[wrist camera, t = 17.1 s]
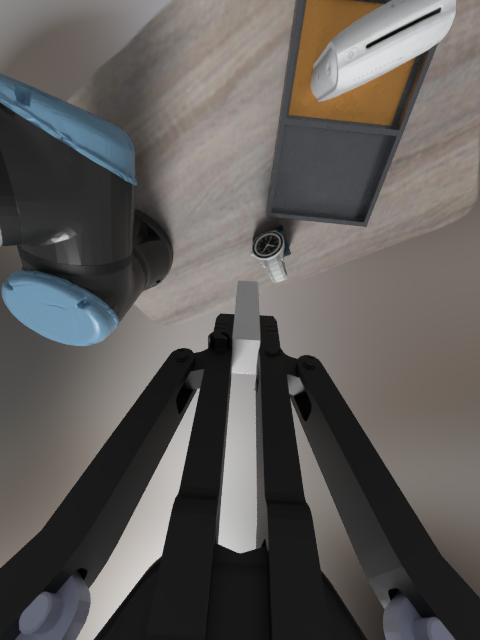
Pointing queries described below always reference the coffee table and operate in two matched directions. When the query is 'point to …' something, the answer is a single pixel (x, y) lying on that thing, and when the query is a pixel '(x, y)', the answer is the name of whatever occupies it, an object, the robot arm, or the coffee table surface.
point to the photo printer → (380, 44)
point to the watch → (272, 252)
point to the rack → (337, 124)
